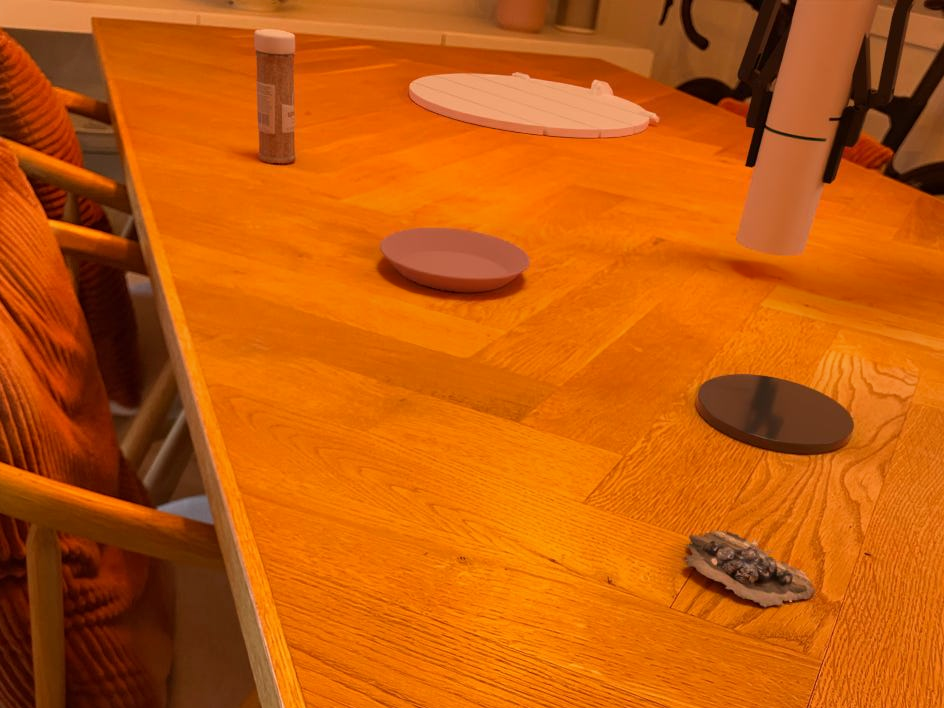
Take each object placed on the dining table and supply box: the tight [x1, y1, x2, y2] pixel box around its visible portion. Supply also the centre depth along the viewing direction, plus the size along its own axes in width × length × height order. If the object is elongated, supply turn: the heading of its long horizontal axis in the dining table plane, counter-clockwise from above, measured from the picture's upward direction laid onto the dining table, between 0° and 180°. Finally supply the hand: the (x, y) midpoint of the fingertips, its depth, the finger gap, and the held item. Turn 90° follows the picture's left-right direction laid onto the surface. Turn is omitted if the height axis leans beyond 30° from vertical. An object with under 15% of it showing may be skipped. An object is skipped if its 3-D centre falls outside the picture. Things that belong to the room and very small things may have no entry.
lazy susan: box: [408, 71, 661, 139], centre depth 160 cm, size 40×39×3 cm
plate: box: [379, 227, 531, 293], centre depth 94 cm, size 14×14×2 cm
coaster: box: [695, 373, 855, 455], centre depth 76 cm, size 12×12×1 cm
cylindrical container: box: [735, 0, 880, 257], centre depth 96 cm, size 7×7×25 cm
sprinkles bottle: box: [253, 28, 297, 165], centre depth 116 cm, size 5×5×13 cm
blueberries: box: [682, 530, 817, 608], centre depth 58 cm, size 7×8×2 cm
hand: (789, 172), depth 99 cm, fingers closed on cylindrical container, 7 cm apart
